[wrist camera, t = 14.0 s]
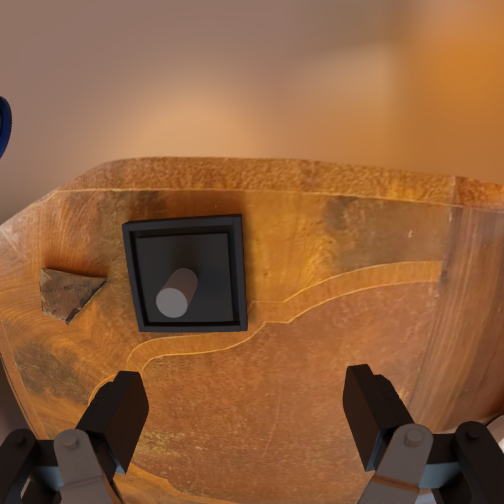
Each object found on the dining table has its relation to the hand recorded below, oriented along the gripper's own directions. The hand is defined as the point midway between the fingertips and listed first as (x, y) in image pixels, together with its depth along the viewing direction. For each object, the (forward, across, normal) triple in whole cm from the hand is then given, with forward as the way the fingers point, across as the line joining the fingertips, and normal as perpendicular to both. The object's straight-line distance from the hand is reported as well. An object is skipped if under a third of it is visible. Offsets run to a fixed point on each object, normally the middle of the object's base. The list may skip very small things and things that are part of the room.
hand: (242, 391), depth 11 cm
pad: (+23, +7, +3) cm, 25 cm away
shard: (+24, +24, +4) cm, 34 cm away
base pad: (+24, +7, +3) cm, 25 cm away
